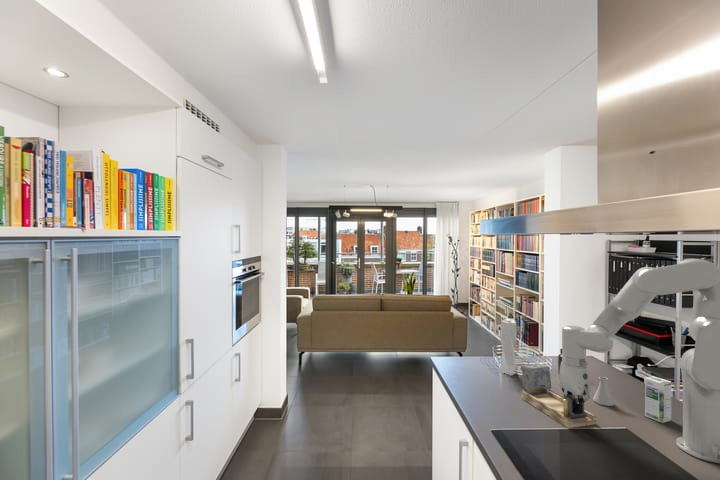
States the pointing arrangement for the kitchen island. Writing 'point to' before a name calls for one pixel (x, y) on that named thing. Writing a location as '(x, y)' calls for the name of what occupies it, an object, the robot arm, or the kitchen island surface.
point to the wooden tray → (554, 406)
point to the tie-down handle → (571, 408)
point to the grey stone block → (536, 375)
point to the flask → (603, 393)
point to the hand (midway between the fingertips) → (573, 410)
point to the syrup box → (658, 399)
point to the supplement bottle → (559, 360)
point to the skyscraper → (508, 346)
